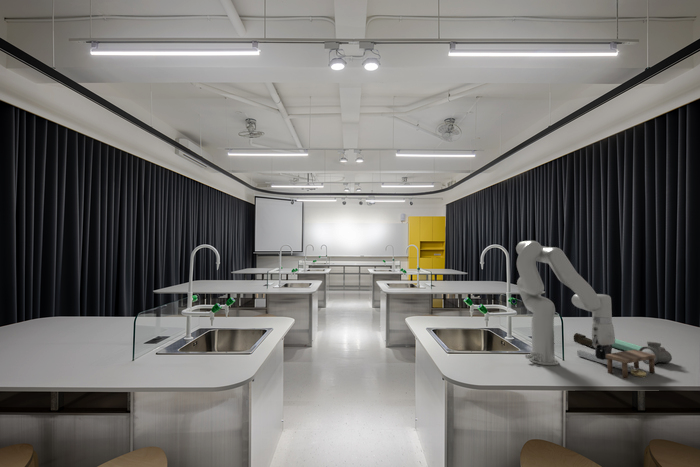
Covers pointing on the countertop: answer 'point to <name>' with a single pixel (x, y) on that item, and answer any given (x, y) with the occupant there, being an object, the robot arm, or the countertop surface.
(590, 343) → the hand tool
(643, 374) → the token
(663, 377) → the countertop surface
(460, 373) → the countertop surface
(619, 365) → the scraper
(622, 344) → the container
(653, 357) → the bench
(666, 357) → the pipe fitting
